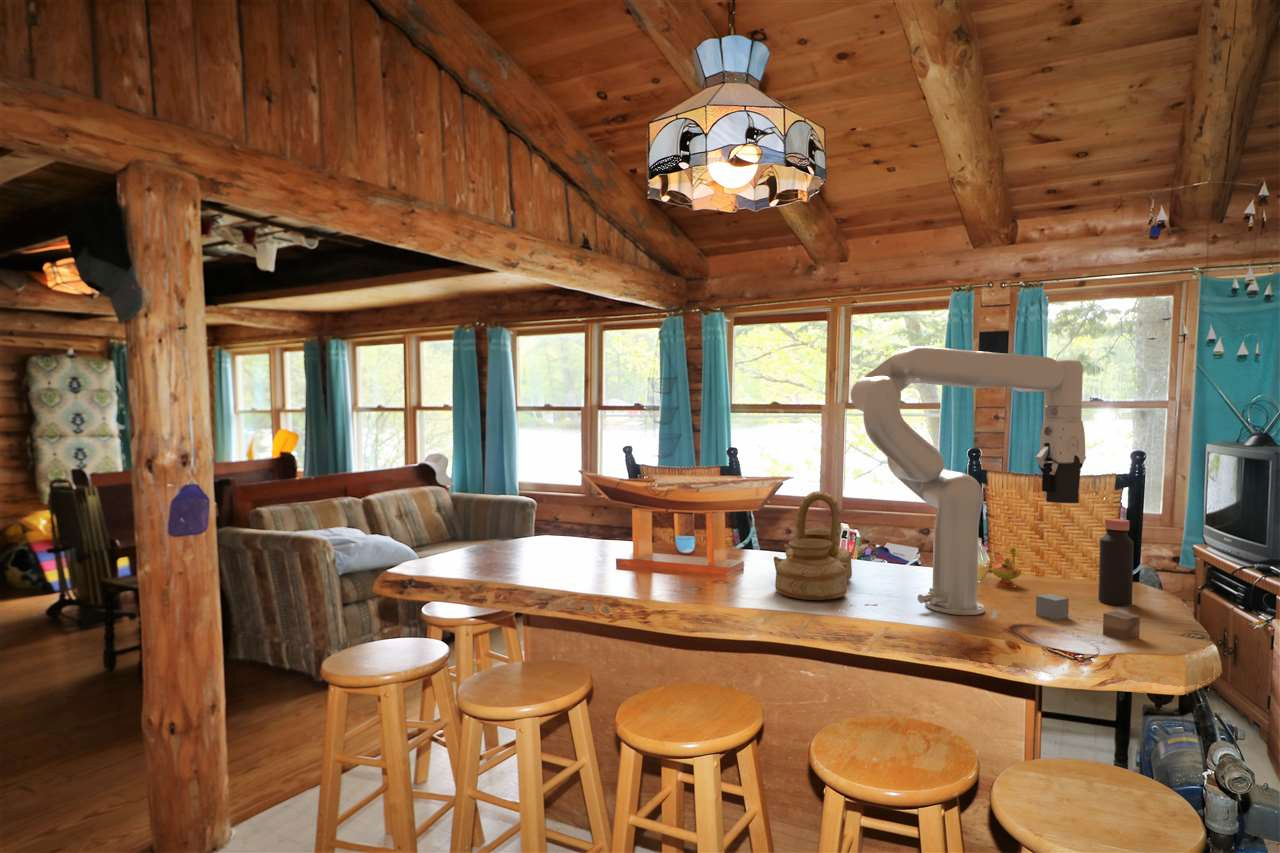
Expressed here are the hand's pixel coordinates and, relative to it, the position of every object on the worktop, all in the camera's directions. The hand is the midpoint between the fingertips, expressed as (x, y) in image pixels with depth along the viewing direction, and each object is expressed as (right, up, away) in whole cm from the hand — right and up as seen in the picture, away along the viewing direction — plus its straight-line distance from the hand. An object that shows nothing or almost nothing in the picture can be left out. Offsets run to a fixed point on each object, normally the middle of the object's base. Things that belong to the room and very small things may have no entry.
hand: (1060, 490), depth 166 cm
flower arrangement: (0, -27, +25) cm, 37 cm away
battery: (0, -3, 0) cm, 3 cm away
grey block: (-5, -28, -5) cm, 29 cm away
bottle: (+17, -28, +7) cm, 33 cm away
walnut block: (+1, -28, -19) cm, 34 cm away
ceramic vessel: (-52, -27, +20) cm, 62 cm away
